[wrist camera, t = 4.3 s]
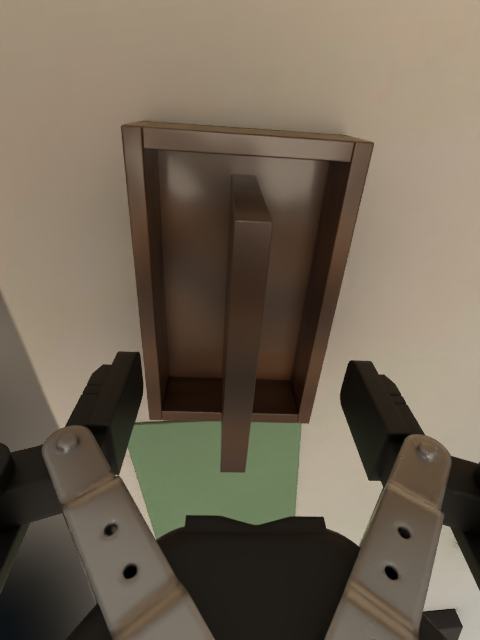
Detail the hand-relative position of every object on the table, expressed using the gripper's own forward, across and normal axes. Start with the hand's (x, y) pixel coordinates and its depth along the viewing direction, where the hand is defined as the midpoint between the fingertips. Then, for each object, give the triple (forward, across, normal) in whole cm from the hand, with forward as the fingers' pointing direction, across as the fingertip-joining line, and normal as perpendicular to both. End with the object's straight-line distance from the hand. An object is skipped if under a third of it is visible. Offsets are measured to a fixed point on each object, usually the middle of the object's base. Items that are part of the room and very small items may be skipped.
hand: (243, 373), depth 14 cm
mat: (+9, 0, +24) cm, 26 cm away
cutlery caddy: (+9, 0, 0) cm, 9 cm away
